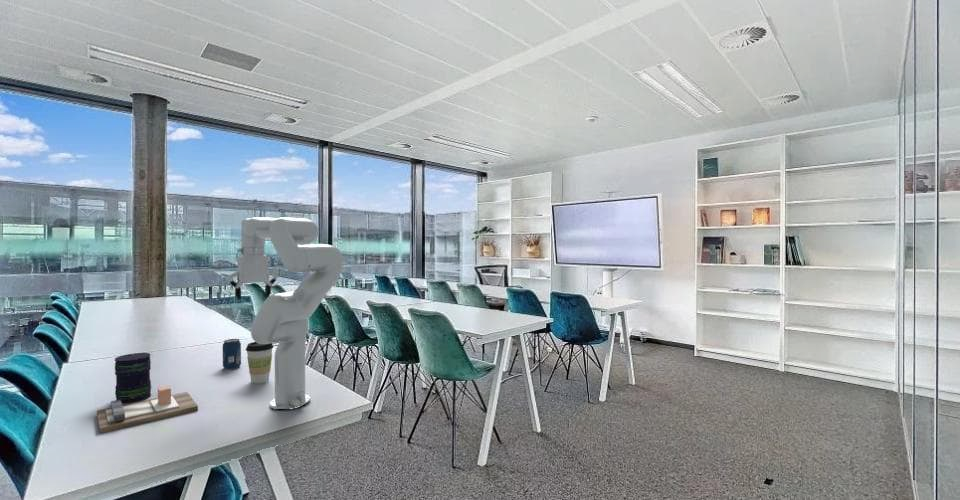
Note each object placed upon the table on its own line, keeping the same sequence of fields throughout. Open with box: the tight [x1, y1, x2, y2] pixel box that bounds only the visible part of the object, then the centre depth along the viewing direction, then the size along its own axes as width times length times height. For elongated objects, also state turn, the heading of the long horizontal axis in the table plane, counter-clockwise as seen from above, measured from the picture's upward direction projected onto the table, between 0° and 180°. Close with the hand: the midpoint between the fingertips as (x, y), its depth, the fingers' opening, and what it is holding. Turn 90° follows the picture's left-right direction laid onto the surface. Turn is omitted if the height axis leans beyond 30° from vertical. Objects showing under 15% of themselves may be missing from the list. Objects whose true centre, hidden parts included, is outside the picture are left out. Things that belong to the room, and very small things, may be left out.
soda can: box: [222, 338, 242, 370], centre depth 186 cm, size 7×7×12 cm
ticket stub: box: [151, 385, 179, 412], centre depth 141 cm, size 12×6×5 cm, turn 44°
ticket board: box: [96, 391, 199, 434], centre depth 138 cm, size 18×24×4 cm
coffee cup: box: [245, 341, 274, 384], centre depth 168 cm, size 10×10×15 cm
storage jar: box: [114, 352, 152, 405], centre depth 150 cm, size 10×10×15 cm
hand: (253, 297), depth 159 cm, fingers open, 9 cm apart
